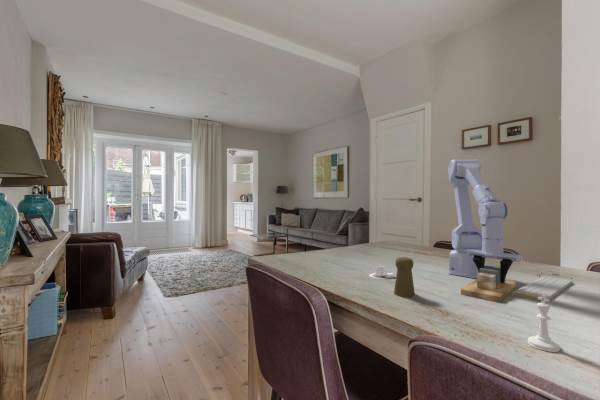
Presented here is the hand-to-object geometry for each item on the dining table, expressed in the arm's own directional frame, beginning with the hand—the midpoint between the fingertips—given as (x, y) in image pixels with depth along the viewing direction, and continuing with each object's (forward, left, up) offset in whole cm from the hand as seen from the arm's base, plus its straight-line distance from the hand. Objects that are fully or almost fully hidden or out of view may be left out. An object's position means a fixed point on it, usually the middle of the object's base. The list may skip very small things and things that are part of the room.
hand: (492, 280), depth 95 cm
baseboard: (+11, +12, -3) cm, 16 cm away
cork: (-17, -25, -3) cm, 31 cm away
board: (0, -2, -2) cm, 3 cm away
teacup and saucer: (-31, -15, -3) cm, 34 cm away
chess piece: (+17, -35, -3) cm, 39 cm away
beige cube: (0, -6, -1) cm, 7 cm away
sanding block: (0, 0, -1) cm, 1 cm away
